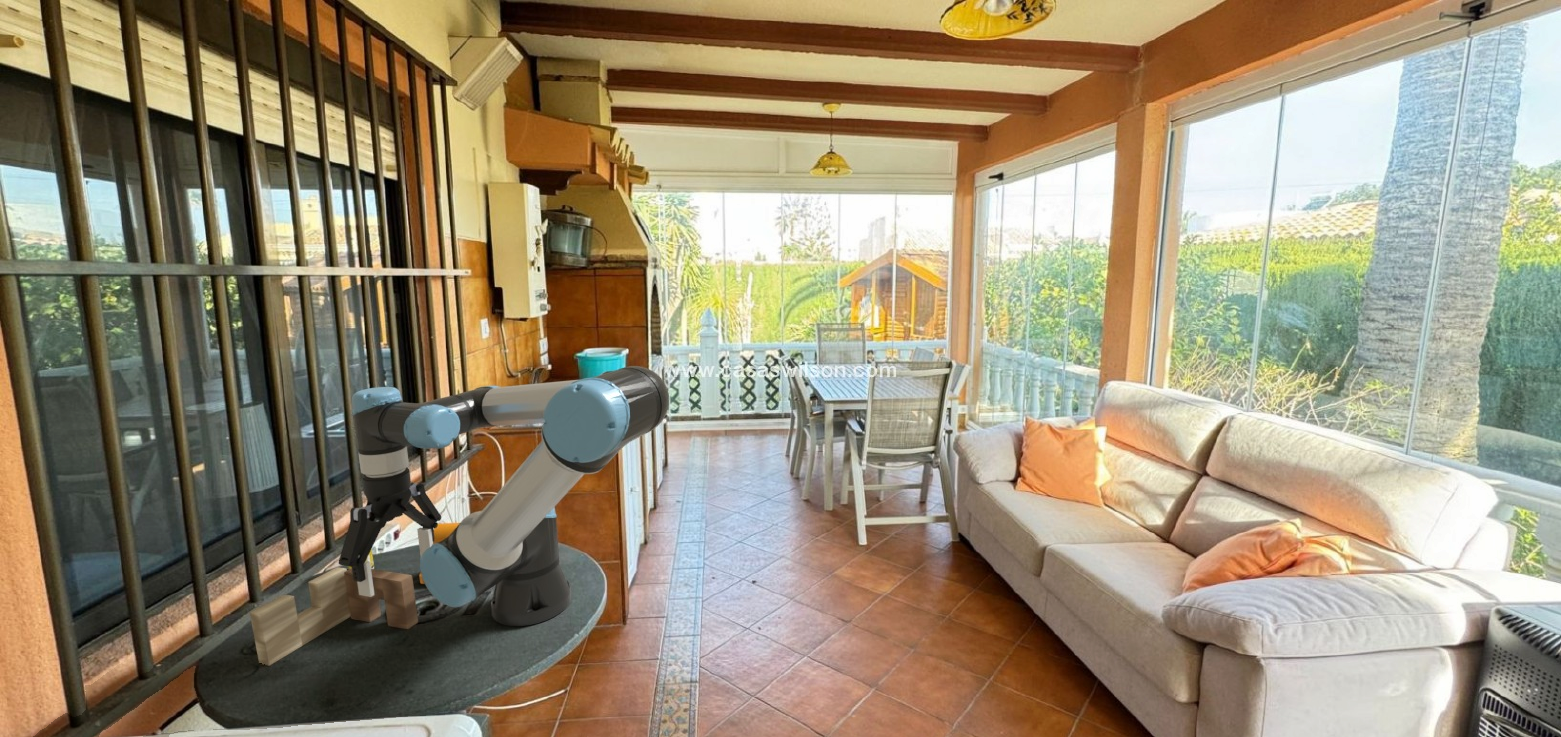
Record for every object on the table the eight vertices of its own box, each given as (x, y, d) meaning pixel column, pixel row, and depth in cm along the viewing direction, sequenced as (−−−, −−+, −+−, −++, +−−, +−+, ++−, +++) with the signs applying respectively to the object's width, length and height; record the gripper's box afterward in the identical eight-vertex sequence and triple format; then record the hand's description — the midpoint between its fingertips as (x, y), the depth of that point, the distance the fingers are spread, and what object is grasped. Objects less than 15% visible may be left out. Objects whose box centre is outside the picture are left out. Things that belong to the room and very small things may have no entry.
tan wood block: (418, 622, 120) (411, 575, 118) (407, 629, 118) (401, 581, 116) (362, 612, 124) (355, 566, 122) (351, 618, 121) (344, 572, 120)
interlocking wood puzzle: (353, 614, 123) (346, 568, 121) (269, 665, 108) (259, 614, 106) (344, 613, 123) (337, 567, 122) (259, 663, 108) (249, 612, 106)
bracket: (442, 563, 143) (436, 514, 141) (474, 561, 144) (468, 513, 142) (418, 587, 133) (412, 536, 131) (453, 586, 133) (447, 534, 131)
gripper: (424, 448, 126) (435, 544, 130) (302, 494, 103) (320, 609, 107) (454, 451, 124) (464, 548, 128) (337, 498, 101) (354, 615, 105)
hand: (398, 576), depth 117 cm, fingers open, 13 cm apart
